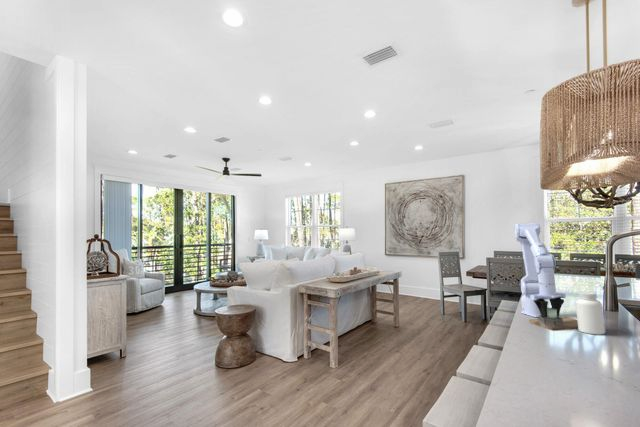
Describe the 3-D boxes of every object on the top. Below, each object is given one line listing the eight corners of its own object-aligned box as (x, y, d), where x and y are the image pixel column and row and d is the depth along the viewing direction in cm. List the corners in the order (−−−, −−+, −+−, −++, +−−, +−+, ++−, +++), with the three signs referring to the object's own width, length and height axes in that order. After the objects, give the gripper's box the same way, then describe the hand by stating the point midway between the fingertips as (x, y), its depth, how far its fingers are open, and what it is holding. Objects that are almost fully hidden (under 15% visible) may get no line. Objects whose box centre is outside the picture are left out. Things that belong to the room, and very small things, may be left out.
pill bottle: (594, 328, 125) (590, 290, 126) (611, 335, 117) (606, 294, 118) (573, 329, 125) (569, 291, 126) (588, 335, 117) (584, 295, 119)
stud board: (529, 322, 137) (528, 314, 137) (566, 319, 138) (565, 311, 139) (552, 330, 125) (551, 321, 125) (592, 327, 127) (591, 318, 127)
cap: (544, 319, 129) (543, 309, 129) (542, 316, 134) (541, 307, 134) (559, 320, 127) (558, 310, 127) (556, 317, 131) (555, 307, 132)
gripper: (538, 286, 127) (542, 320, 126) (570, 284, 128) (574, 317, 127) (525, 283, 134) (528, 315, 133) (556, 281, 135) (559, 313, 134)
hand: (550, 316), depth 130 cm, fingers closed on cap, 5 cm apart
